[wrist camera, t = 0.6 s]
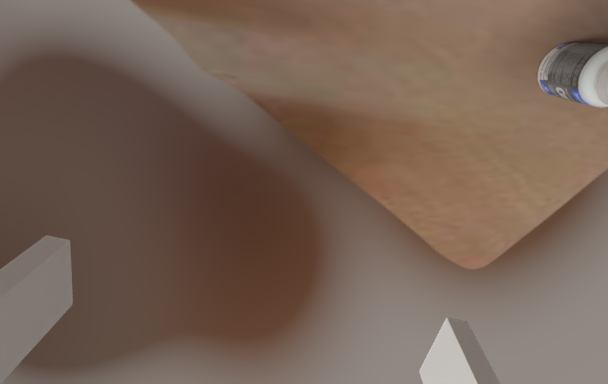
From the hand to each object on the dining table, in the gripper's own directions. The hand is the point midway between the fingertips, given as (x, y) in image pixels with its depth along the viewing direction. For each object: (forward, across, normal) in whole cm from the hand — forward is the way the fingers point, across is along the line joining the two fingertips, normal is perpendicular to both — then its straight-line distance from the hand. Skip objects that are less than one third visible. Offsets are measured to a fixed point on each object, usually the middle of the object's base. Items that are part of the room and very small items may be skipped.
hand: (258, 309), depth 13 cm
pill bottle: (+26, +23, +11) cm, 36 cm away
